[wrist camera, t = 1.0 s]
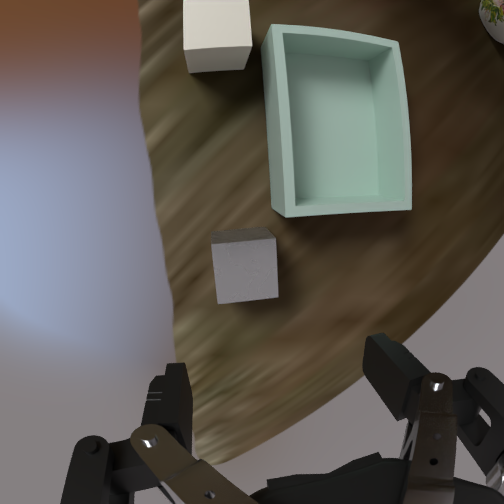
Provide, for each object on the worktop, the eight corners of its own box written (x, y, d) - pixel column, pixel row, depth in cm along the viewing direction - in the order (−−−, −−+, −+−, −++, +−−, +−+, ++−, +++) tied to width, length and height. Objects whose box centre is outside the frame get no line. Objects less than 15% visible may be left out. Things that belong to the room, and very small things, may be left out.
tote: (260, 48, 24) (271, 24, 19) (370, 57, 25) (398, 41, 20) (271, 208, 28) (285, 217, 23) (381, 201, 29) (411, 209, 24)
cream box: (187, 28, 23) (183, -1, 17) (240, 25, 23) (248, -5, 17) (189, 73, 24) (183, 50, 18) (243, 69, 24) (252, 46, 19)
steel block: (211, 231, 28) (211, 244, 23) (264, 226, 29) (275, 238, 24) (216, 282, 30) (217, 304, 25) (267, 276, 30) (278, 297, 25)
